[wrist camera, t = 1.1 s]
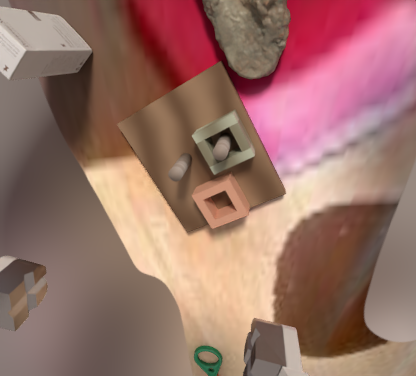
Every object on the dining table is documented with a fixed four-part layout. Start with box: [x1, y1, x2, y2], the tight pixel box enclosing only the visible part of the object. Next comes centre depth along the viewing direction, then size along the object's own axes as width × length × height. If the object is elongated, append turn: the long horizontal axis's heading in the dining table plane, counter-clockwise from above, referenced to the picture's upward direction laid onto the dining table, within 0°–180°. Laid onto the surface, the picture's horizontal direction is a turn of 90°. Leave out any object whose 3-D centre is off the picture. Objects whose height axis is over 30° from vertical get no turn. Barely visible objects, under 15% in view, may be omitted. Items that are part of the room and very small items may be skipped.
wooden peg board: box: [117, 61, 286, 232], centre depth 39 cm, size 17×20×8 cm
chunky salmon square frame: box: [192, 172, 250, 229], centre depth 42 cm, size 6×6×3 cm
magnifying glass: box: [194, 346, 222, 376], centre depth 64 cm, size 15×6×2 cm, turn 12°
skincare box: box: [0, 7, 92, 80], centre depth 34 cm, size 6×4×12 cm
